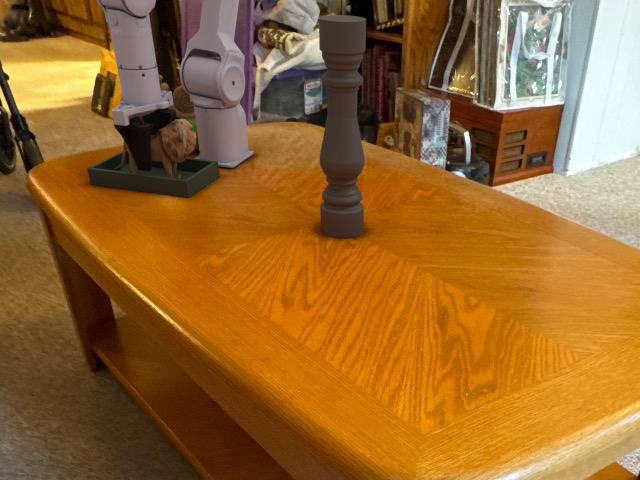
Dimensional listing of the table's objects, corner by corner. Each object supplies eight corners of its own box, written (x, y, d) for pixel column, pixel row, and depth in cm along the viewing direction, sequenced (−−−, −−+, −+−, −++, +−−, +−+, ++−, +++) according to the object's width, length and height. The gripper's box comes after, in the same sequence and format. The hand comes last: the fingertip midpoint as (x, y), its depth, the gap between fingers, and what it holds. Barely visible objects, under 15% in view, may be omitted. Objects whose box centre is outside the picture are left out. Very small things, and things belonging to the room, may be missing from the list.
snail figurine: (167, 148, 124) (155, 72, 116) (201, 145, 126) (192, 70, 118) (173, 156, 121) (162, 78, 113) (209, 153, 123) (200, 76, 115)
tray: (127, 164, 116) (124, 149, 115) (219, 176, 113) (218, 161, 112) (90, 184, 108) (86, 168, 107) (188, 197, 105) (186, 181, 104)
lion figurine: (206, 177, 112) (198, 116, 106) (194, 187, 108) (186, 124, 102) (122, 169, 113) (110, 108, 107) (107, 179, 109) (94, 116, 103)
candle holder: (365, 223, 100) (370, 16, 83) (360, 239, 95) (365, 23, 78) (324, 220, 100) (320, 13, 83) (317, 236, 95) (312, 20, 79)
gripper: (135, 77, 94) (153, 181, 103) (184, 60, 105) (197, 155, 114) (90, 73, 95) (112, 175, 105) (143, 56, 106) (159, 150, 115)
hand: (154, 164), depth 109 cm, fingers open, 5 cm apart
